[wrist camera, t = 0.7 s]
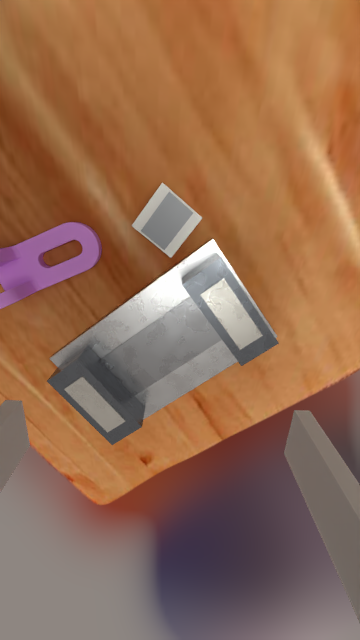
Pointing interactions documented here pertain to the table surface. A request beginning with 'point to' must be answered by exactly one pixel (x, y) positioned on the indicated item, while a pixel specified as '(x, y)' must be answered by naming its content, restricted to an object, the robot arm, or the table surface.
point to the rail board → (161, 344)
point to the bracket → (30, 269)
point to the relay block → (166, 220)
